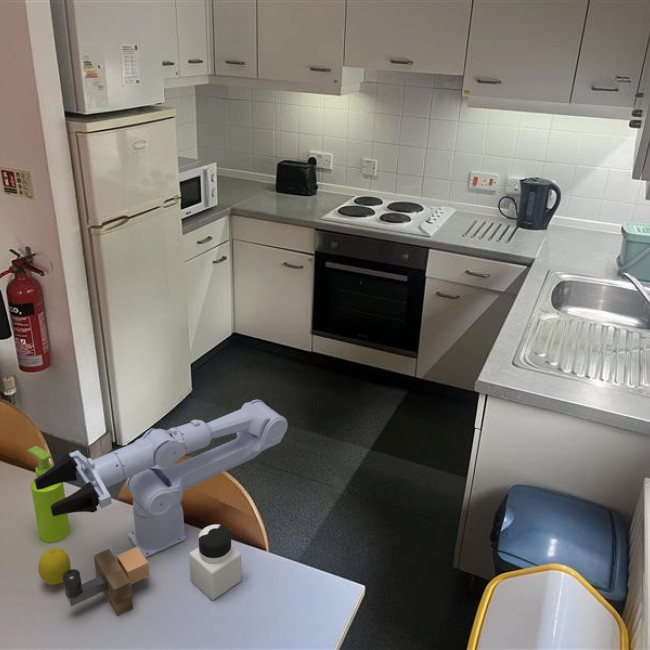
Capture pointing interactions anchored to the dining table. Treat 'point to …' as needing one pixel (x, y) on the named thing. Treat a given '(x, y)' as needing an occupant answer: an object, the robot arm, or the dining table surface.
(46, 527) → the soap dispenser
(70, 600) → the shaft
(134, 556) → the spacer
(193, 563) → the medicine bottle
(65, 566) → the lemon
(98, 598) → the dining table surface
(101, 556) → the bracket
